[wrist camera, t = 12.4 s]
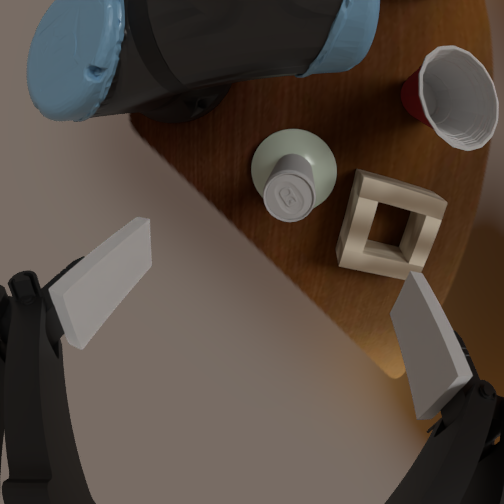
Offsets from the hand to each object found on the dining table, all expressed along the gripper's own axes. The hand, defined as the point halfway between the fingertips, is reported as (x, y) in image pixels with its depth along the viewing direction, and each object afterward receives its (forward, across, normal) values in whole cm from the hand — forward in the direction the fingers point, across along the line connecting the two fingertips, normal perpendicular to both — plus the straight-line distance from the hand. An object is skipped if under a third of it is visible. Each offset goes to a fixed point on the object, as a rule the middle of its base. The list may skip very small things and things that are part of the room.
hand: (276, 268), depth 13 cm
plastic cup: (+26, +15, +14) cm, 33 cm away
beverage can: (+25, 0, 0) cm, 25 cm away
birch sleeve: (+25, +14, -4) cm, 29 cm away
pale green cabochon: (+25, 0, 0) cm, 25 cm away
